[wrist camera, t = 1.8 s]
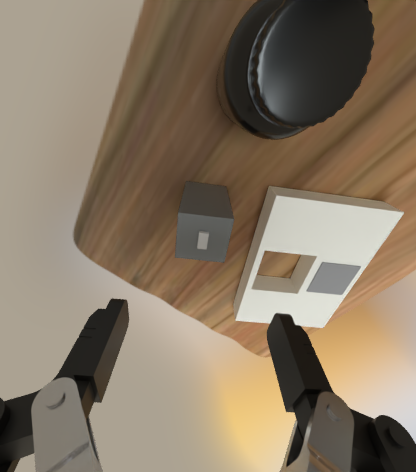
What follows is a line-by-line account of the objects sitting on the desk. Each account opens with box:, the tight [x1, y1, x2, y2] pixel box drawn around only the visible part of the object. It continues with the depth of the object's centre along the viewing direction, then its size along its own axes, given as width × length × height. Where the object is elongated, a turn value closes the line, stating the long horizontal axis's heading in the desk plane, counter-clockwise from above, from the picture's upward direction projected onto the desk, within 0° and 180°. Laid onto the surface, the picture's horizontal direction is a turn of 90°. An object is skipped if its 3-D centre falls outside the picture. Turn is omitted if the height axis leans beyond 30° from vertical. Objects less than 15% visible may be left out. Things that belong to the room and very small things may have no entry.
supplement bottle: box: [217, 0, 374, 140], centre depth 14 cm, size 7×7×12 cm
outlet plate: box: [233, 186, 404, 328], centre depth 28 cm, size 20×14×3 cm
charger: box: [175, 181, 234, 262], centre depth 21 cm, size 4×4×8 cm
